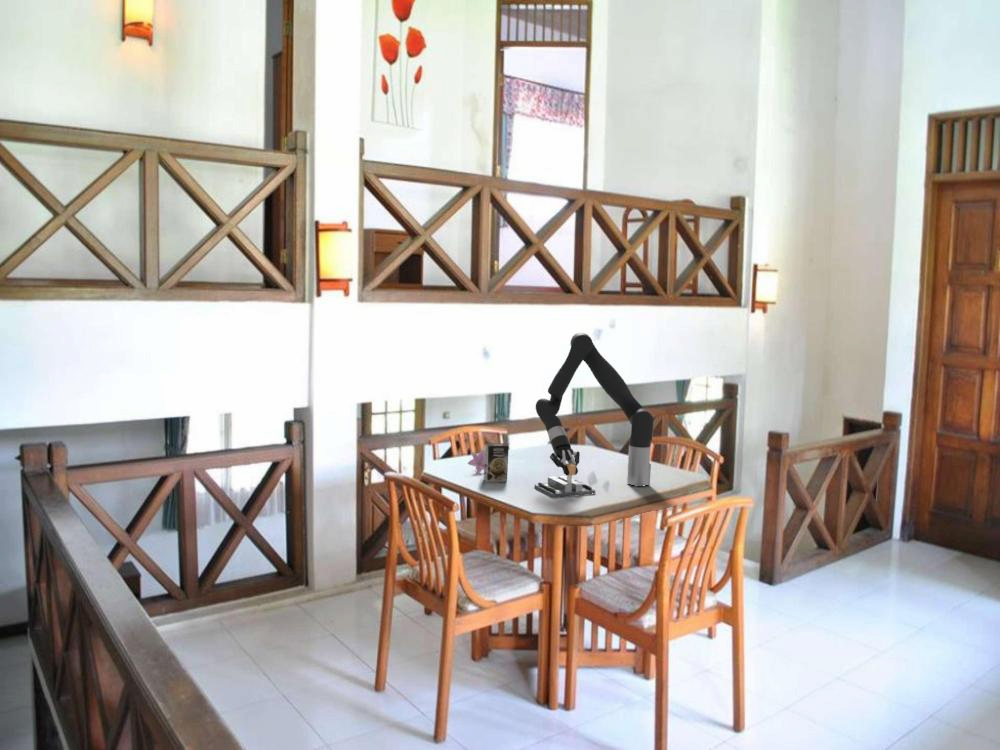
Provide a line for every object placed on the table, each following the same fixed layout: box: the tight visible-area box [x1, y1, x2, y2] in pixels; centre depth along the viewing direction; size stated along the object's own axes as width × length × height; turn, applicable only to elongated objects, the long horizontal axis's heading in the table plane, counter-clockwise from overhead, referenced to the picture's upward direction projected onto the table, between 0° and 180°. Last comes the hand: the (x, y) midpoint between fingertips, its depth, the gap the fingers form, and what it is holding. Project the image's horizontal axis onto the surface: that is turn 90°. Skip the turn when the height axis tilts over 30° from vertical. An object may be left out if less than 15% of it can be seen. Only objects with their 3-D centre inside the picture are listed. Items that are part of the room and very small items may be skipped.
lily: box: [467, 448, 485, 474], centre depth 373 cm, size 12×12×10 cm
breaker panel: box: [533, 475, 596, 498], centre depth 344 cm, size 20×16×4 cm
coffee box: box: [483, 442, 509, 484], centre depth 357 cm, size 9×6×16 cm
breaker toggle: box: [566, 463, 577, 484], centre depth 341 cm, size 3×4×10 cm
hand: (572, 474), depth 339 cm, fingers closed on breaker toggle, 3 cm apart
